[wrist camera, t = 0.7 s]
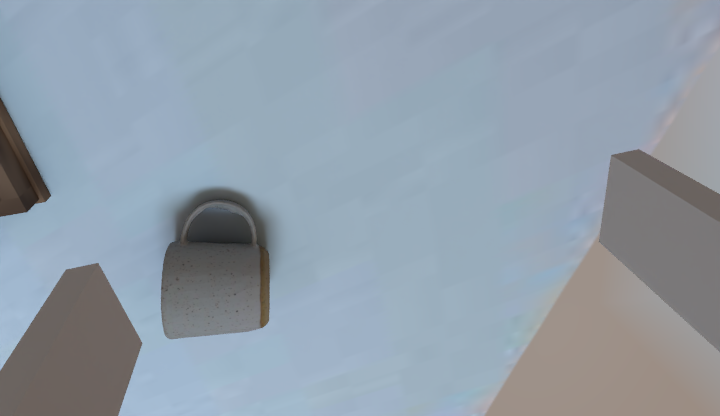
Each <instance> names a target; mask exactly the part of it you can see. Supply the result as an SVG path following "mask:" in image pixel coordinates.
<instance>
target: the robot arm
mask: <svg viewBox="0 0 720 416" xmlns="http://www.w3.org/2000/svg"><path fill="white" fill-rule="evenodd" d="M599 242H600V243H601V244H602V245H603V246H604V247H605V248H606V249H608V250H609V251H610V252H611V253H612V254H613V255H614V256H615V257H616V258H617V259H618V260H620V261H621V262H622V263H623V264H624V265H625V266H626V267H627V268H628V269H629V270H630V271H632V272H633V273H634V274H635V275H636V276H637V277H638V278H639V279H640V280H641V281H643V282H644V283H645V284H646V285H647V286H648V287H649V288H650V289H651V290H652V291H654V292H655V293H656V294H657V295H658V296H659V297H660V298H661V299H662V300H663V301H664V302H666V303H667V304H668V305H669V306H670V307H671V308H672V309H673V310H674V311H675V312H677V313H678V314H679V315H680V316H681V317H682V318H683V319H684V320H685V321H686V322H688V323H689V324H690V325H691V326H692V327H693V328H694V329H695V330H696V331H697V332H698V333H700V334H701V335H702V336H703V337H704V338H705V339H706V340H707V341H708V342H709V343H711V344H712V345H713V346H714V347H715V348H716V349H717V350H718V351H719V352H720V194H718V193H717V192H714V191H713V190H711V189H709V188H708V187H705V186H704V185H702V184H700V183H699V182H696V181H695V180H693V179H691V178H690V177H688V176H686V175H684V174H682V173H681V172H679V171H677V170H675V169H673V168H672V167H670V166H668V165H666V164H664V163H663V162H661V161H659V160H657V159H656V158H654V157H652V156H650V155H648V154H647V153H645V152H643V151H641V150H639V149H638V150H633V151H628V152H624V153H619V154H614V155H611V160H610V167H609V174H608V181H607V188H606V195H605V202H604V209H603V216H602V223H601V230H600V237H599ZM141 346H142V342H141V340H140V338H139V336H138V334H137V333H136V331H135V329H134V327H133V325H132V323H131V322H130V320H129V318H128V316H127V314H126V313H125V311H124V309H123V307H122V305H121V303H120V302H119V300H118V298H117V296H116V294H115V293H114V291H113V289H112V287H111V285H110V283H109V282H108V280H107V278H106V276H105V274H104V273H103V271H102V269H101V267H100V265H99V263H96V264H91V265H86V266H82V267H77V268H72V269H67V270H66V271H65V272H64V274H63V275H62V277H61V278H60V280H59V281H58V283H57V284H56V286H55V287H54V289H53V291H52V292H51V294H50V295H49V297H48V298H47V300H46V301H45V303H44V304H43V306H42V307H41V309H40V311H39V312H38V314H37V315H36V317H35V318H34V320H33V321H32V323H31V324H30V326H29V328H28V329H27V331H26V332H25V334H24V335H23V337H22V338H21V340H20V341H19V343H18V344H17V346H16V348H15V349H14V351H13V352H12V354H11V355H10V357H9V358H8V360H7V361H6V363H5V364H4V366H3V368H2V369H1V371H0V416H118V414H119V411H120V408H121V405H122V402H123V399H124V396H125V393H126V390H127V387H128V384H129V381H130V378H131V375H132V372H133V369H134V366H135V363H136V360H137V357H138V354H139V351H140V348H141Z"/></svg>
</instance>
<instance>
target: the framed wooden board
mask: <svg viewBox="0 0 720 416" xmlns="http://www.w3.org/2000/svg"><path fill="white" fill-rule="evenodd" d="M50 196H51V195H50V193H49V192H48V190H47V188H46V186H45V184H44V182H43V180H42V178H41V176H40V174H39V172H38V170H37V168H36V166H35V164H34V162H33V160H32V159H31V157H30V155H29V153H28V151H27V149H26V147H25V145H24V143H23V141H22V139H21V137H20V135H19V133H18V131H17V129H16V127H15V126H14V124H13V122H12V120H11V118H10V116H9V114H8V112H7V110H6V108H5V106H4V104H3V102H2V100H1V98H0V217H1V216H7V215H13V214H18V213H24V212H28V211H29V209H30V208H31V207H32V206H33V205H34V204H36V203H42V202H46V201H47V200H48V198H49V197H50Z"/></svg>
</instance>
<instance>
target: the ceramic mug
mask: <svg viewBox="0 0 720 416" xmlns="http://www.w3.org/2000/svg"><path fill="white" fill-rule="evenodd" d="M206 208H220V209H226V210H229V211H230V212H232V213H238V214H240V215H241V216H244V217H245V219H246V220H247V222H248V224H249V225H250V230H251V235H252V240H251V243H250V244H241V243H236V244H230V243H227V244H223V243H205V242H189V241H187V236H188V231H189V228H190V225H191V223H192V220H193V219H194V218H195V217H196V216H197V215H198V214H199V213H201V212H202V211H203V210H204V209H206ZM269 283H270V278H269V254H268V252H267V251H266V249H265V248H264V247H261V246H258V245H257V232H256V228H255V224H254V221H253V219H252V217H251V215H250V213H249V212H248V211H247V210H246V209H245V208H244V207H242V206H240V205H239V204H237V203H235V202H232V201H228V200H212V201H208V202H205V203H203V204H201V205H199V206H198V207H197V208H196V209H194V210H193V211H192V212H191V214H190V215H189V216H188V218H187V220H186V221H185V224H184V226H183V229H182V233H181V237H180V241H179V242H172V243H170V244H169V246H168V248H167V250H166V253H165V258H164V263H163V271H162V285H161V311H162V322H163V328H164V333H165V336H166V337H167V338H169V339H178V338H185V337H197V336H208V335H218V334H227V333H239V332H248V331H252V330H256V329H259V328H263V327H264V326H265V325H266V324H267V323H268V321H269Z"/></svg>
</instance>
